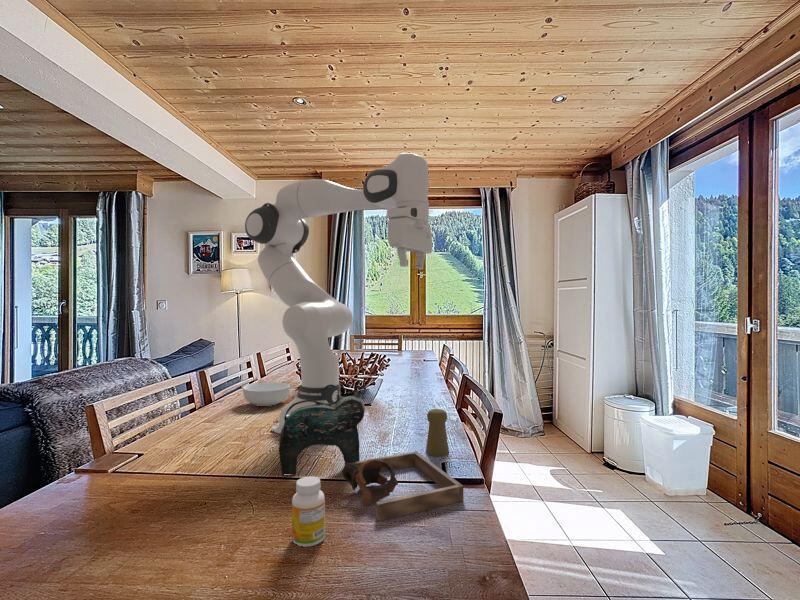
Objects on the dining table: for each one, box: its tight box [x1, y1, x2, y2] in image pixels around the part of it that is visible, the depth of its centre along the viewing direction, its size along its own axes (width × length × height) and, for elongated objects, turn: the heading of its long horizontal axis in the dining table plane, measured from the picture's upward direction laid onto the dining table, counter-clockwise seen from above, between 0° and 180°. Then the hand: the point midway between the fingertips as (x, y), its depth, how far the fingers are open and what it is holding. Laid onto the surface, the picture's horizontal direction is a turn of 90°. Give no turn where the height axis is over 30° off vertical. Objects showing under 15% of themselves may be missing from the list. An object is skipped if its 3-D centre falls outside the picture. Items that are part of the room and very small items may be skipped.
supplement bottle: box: [291, 476, 326, 548], centre depth 73 cm, size 5×5×10 cm
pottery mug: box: [341, 458, 399, 507], centre depth 88 cm, size 12×10×8 cm
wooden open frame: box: [344, 450, 464, 522], centre depth 91 cm, size 18×21×3 cm
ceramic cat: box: [278, 384, 366, 476], centre depth 101 cm, size 20×6×20 cm, turn 100°
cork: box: [425, 408, 450, 457], centre depth 112 cm, size 6×6×11 cm
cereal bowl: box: [242, 381, 291, 407], centre depth 163 cm, size 17×17×7 cm
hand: (411, 267), depth 115 cm, fingers open, 8 cm apart
